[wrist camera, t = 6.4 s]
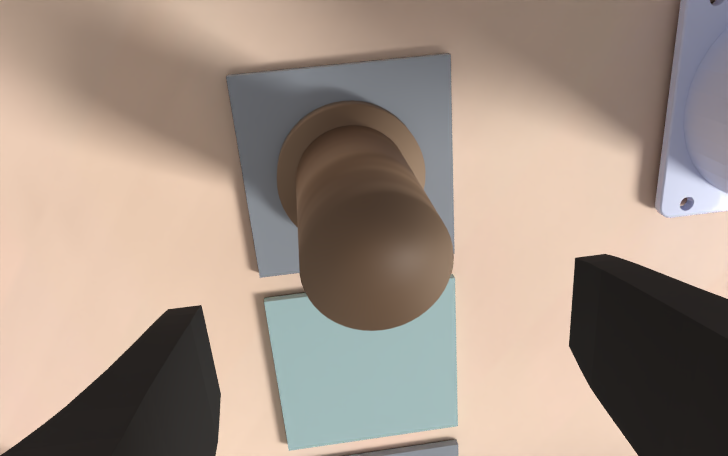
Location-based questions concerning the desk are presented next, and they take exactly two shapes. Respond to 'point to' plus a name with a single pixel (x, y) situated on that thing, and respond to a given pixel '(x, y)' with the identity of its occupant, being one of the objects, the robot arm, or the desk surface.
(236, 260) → the desk surface
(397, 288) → the pawn
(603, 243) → the desk surface
